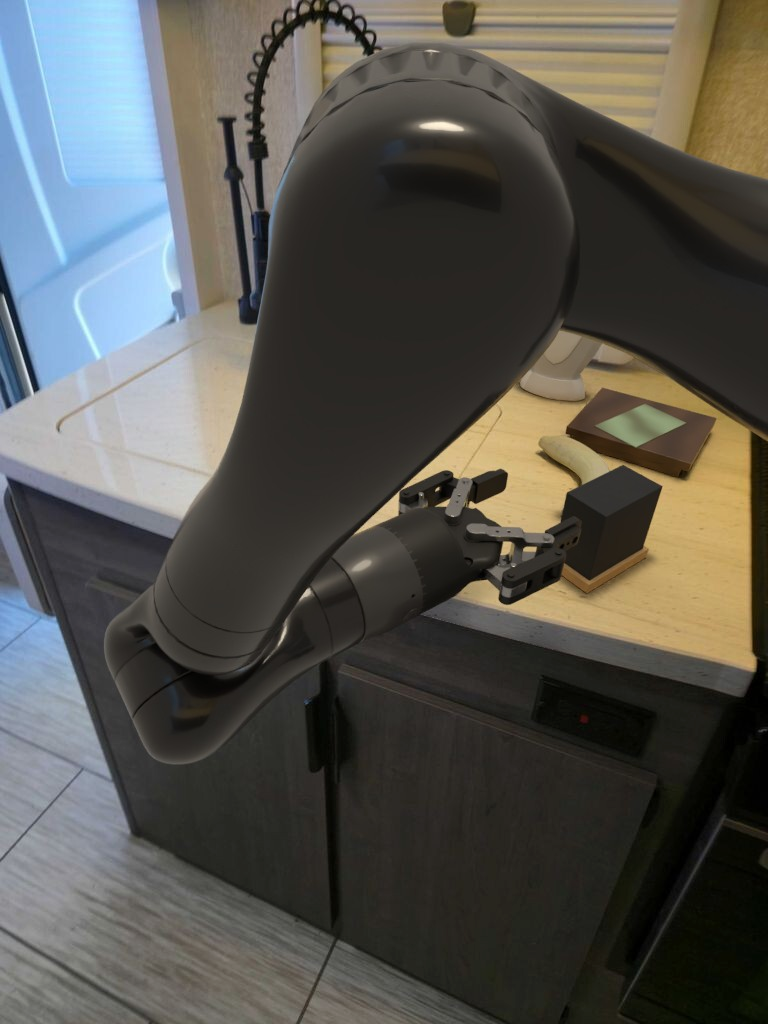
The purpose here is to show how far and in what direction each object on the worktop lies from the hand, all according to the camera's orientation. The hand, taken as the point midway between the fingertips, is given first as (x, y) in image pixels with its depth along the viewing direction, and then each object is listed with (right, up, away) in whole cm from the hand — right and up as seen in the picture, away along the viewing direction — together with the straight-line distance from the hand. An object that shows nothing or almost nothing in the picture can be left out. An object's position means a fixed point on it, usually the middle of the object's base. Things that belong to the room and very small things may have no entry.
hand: (538, 501), depth 58 cm
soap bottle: (+12, +17, +43) cm, 48 cm away
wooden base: (+21, +9, +33) cm, 40 cm away
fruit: (+9, +3, +25) cm, 26 cm away
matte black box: (+9, -6, +13) cm, 17 cm away
